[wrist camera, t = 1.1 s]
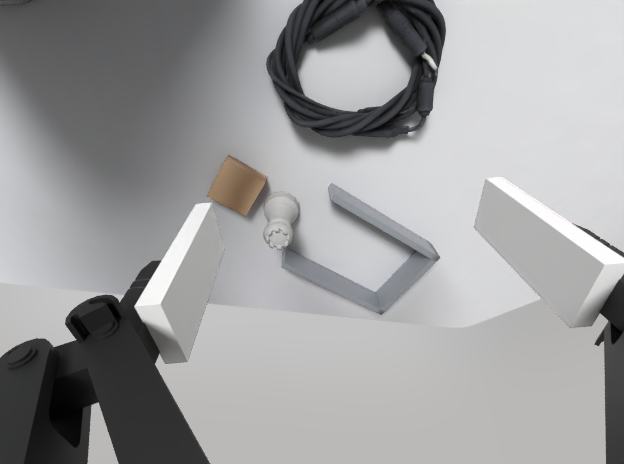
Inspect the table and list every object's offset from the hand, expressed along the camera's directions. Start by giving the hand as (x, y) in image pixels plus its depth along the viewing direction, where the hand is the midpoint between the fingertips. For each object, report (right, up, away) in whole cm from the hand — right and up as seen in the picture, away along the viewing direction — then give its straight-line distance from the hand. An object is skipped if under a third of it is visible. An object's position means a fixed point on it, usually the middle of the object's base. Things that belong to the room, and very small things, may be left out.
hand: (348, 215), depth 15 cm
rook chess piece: (-6, +3, +24) cm, 25 cm away
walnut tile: (-11, +5, +22) cm, 25 cm away
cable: (+2, +17, +16) cm, 24 cm away
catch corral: (+4, -3, +28) cm, 28 cm away
